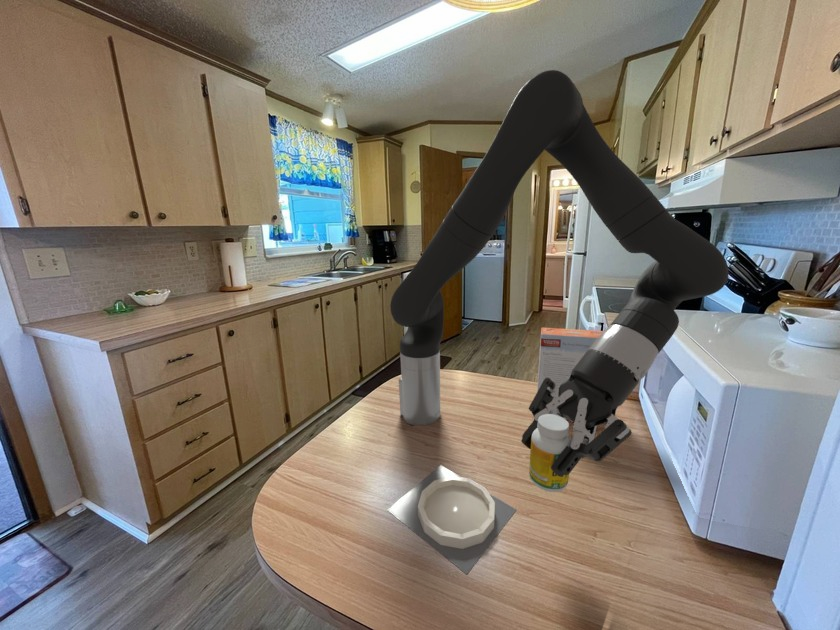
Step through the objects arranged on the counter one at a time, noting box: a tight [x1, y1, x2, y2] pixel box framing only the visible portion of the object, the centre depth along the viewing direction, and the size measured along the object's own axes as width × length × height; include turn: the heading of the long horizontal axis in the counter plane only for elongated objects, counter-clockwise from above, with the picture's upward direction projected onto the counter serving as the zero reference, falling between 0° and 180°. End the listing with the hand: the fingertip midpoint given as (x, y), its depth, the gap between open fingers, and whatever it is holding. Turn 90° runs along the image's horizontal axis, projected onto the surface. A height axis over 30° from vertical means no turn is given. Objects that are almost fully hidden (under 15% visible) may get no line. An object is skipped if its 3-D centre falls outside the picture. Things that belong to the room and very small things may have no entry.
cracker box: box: [536, 326, 605, 411], centre depth 81 cm, size 14×6×21 cm, turn 71°
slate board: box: [386, 464, 517, 575], centre depth 56 cm, size 16×14×1 cm
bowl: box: [418, 476, 495, 549], centre depth 55 cm, size 12×12×2 cm
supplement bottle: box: [528, 414, 572, 493], centre depth 48 cm, size 5×5×10 cm
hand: (540, 458), depth 47 cm, fingers closed on supplement bottle, 5 cm apart
